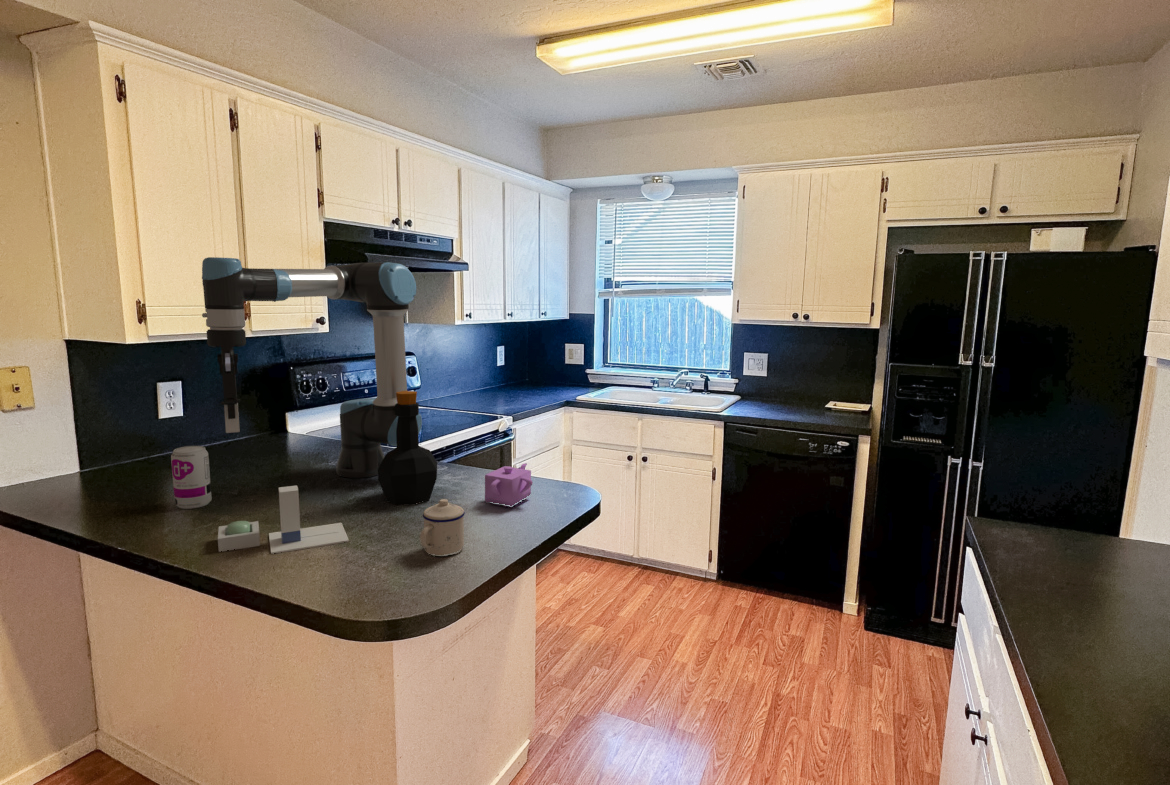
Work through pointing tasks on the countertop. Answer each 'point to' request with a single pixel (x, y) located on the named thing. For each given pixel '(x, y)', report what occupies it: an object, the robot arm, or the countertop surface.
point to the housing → (238, 538)
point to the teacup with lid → (443, 528)
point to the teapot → (508, 485)
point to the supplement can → (191, 477)
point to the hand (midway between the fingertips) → (232, 431)
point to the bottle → (407, 458)
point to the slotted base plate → (310, 538)
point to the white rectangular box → (289, 514)
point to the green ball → (238, 527)
